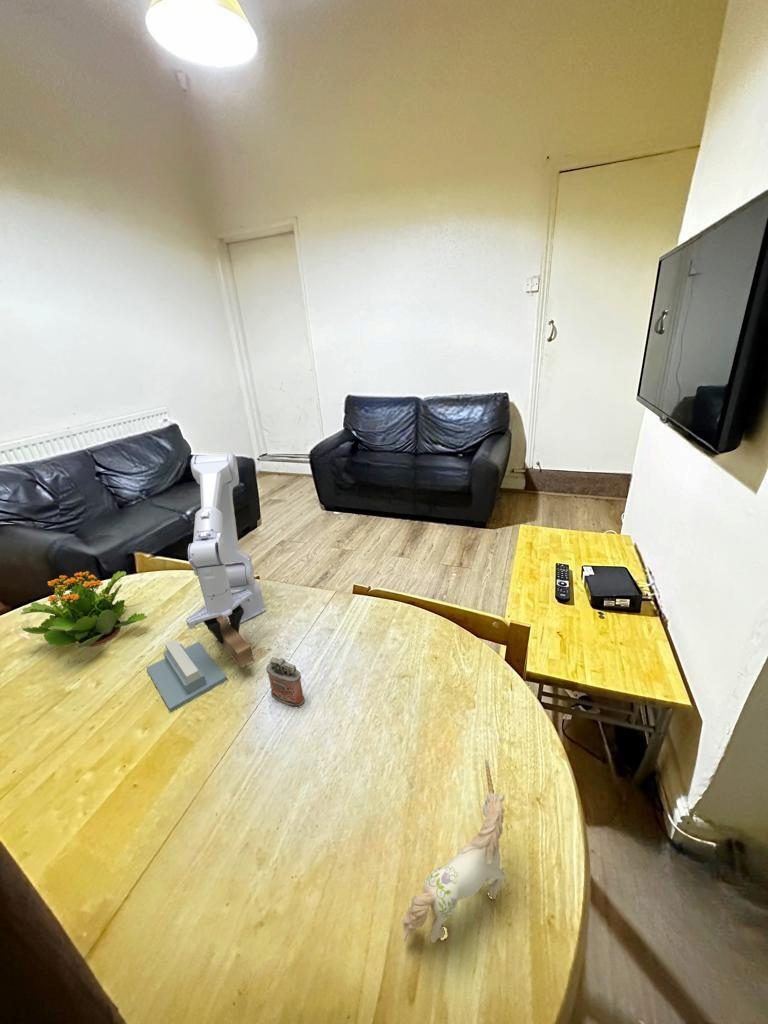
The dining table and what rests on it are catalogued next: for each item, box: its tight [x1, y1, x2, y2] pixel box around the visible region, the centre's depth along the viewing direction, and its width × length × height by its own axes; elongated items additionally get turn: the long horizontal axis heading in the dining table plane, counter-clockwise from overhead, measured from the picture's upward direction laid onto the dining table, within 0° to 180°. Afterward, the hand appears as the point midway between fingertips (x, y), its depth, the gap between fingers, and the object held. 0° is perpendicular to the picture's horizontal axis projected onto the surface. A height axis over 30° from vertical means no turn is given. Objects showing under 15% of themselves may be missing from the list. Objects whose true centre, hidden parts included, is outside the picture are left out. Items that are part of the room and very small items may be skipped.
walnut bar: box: [207, 616, 254, 668], centre depth 96 cm, size 18×3×4 cm, turn 43°
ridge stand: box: [145, 638, 228, 713], centre depth 92 cm, size 16×12×6 cm
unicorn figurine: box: [401, 758, 506, 944], centre depth 53 cm, size 7×20×13 cm, turn 137°
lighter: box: [265, 656, 306, 708], centre depth 84 cm, size 8×3×10 cm, turn 62°
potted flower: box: [20, 570, 148, 649], centre depth 103 cm, size 25×24×18 cm
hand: (228, 637), depth 96 cm, fingers closed on walnut bar, 3 cm apart
